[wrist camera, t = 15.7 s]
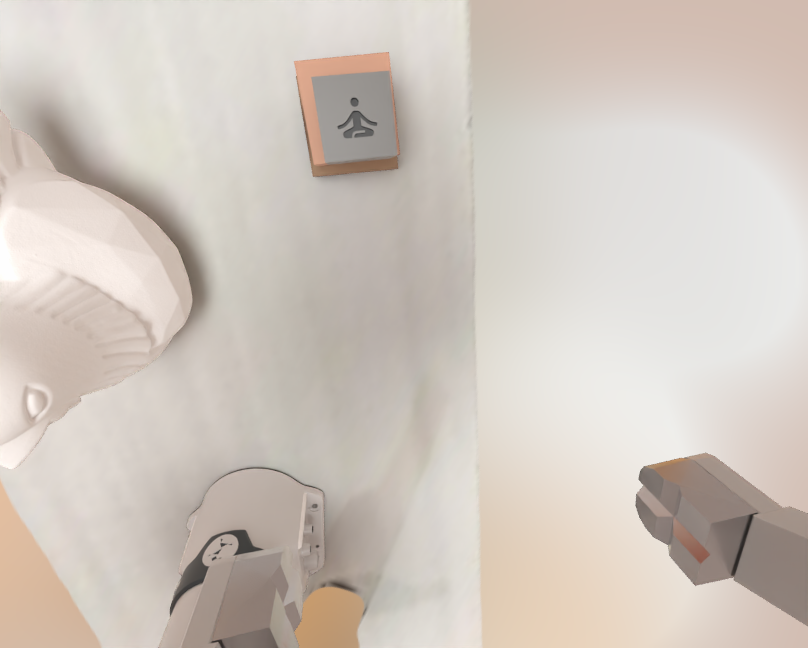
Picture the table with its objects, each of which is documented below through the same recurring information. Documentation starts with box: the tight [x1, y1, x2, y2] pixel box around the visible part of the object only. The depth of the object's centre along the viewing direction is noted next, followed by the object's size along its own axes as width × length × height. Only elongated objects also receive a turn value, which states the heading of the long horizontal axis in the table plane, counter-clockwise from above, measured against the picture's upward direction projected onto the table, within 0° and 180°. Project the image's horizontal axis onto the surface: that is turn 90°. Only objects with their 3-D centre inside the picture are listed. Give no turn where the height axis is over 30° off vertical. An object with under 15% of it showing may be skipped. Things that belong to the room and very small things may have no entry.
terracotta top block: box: [294, 52, 400, 166], centre depth 31 cm, size 7×7×5 cm
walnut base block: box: [296, 76, 398, 177], centre depth 36 cm, size 8×8×5 cm
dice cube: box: [311, 71, 397, 165], centre depth 27 cm, size 5×5×5 cm
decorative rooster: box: [0, 110, 193, 469], centre depth 27 cm, size 25×16×25 cm, turn 179°
